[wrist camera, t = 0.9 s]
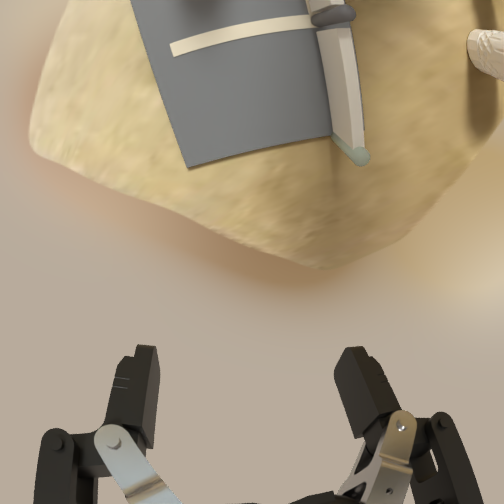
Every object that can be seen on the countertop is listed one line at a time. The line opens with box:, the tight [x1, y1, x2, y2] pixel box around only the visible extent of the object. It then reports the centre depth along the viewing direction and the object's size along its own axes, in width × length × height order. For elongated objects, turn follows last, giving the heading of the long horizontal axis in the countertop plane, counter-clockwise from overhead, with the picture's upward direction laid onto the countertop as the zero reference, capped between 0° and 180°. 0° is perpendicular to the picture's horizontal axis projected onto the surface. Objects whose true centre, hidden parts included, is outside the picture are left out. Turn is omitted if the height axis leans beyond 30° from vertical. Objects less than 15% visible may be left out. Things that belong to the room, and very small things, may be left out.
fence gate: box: [316, 28, 370, 166], centre depth 23 cm, size 13×2×7 cm, turn 13°
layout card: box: [130, 0, 365, 168], centre depth 23 cm, size 23×21×1 cm
